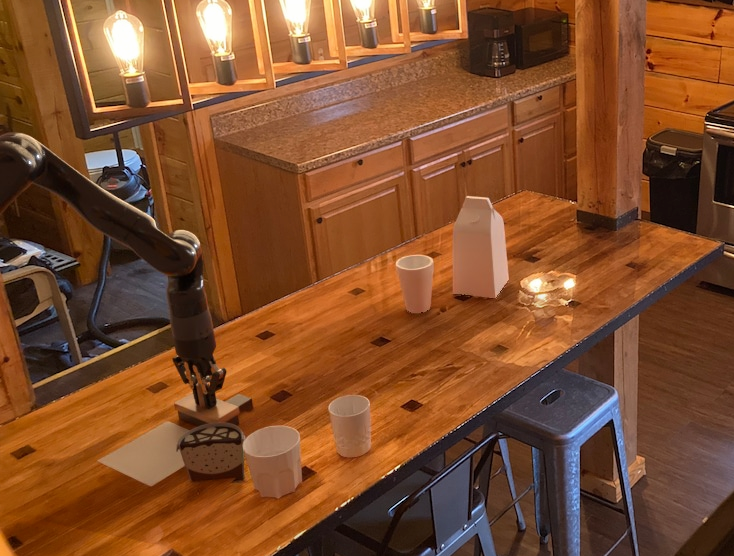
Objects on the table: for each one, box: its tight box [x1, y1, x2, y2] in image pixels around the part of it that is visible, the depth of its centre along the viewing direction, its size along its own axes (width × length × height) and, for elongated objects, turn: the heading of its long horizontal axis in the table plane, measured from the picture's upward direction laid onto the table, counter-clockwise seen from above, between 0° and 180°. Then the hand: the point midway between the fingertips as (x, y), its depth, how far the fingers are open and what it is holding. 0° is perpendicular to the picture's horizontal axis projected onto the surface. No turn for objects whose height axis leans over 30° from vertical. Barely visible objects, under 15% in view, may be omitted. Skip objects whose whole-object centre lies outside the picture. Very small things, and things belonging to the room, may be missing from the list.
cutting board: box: [96, 420, 191, 487], centre depth 186 cm, size 16×16×1 cm
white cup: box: [327, 394, 372, 459], centre depth 187 cm, size 8×8×10 cm
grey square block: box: [224, 393, 254, 413], centre depth 201 cm, size 4×4×2 cm
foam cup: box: [395, 254, 435, 314], centre depth 244 cm, size 10×9×13 cm
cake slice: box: [176, 422, 247, 484], centre depth 179 cm, size 12×6×10 cm, turn 100°
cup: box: [242, 425, 303, 500], centre depth 176 cm, size 10×10×10 cm
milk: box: [452, 195, 510, 299], centre depth 252 cm, size 12×12×26 cm
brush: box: [173, 382, 241, 427], centre depth 194 cm, size 13×6×9 cm, turn 61°
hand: (206, 404), depth 194 cm, fingers closed on brush, 2 cm apart
